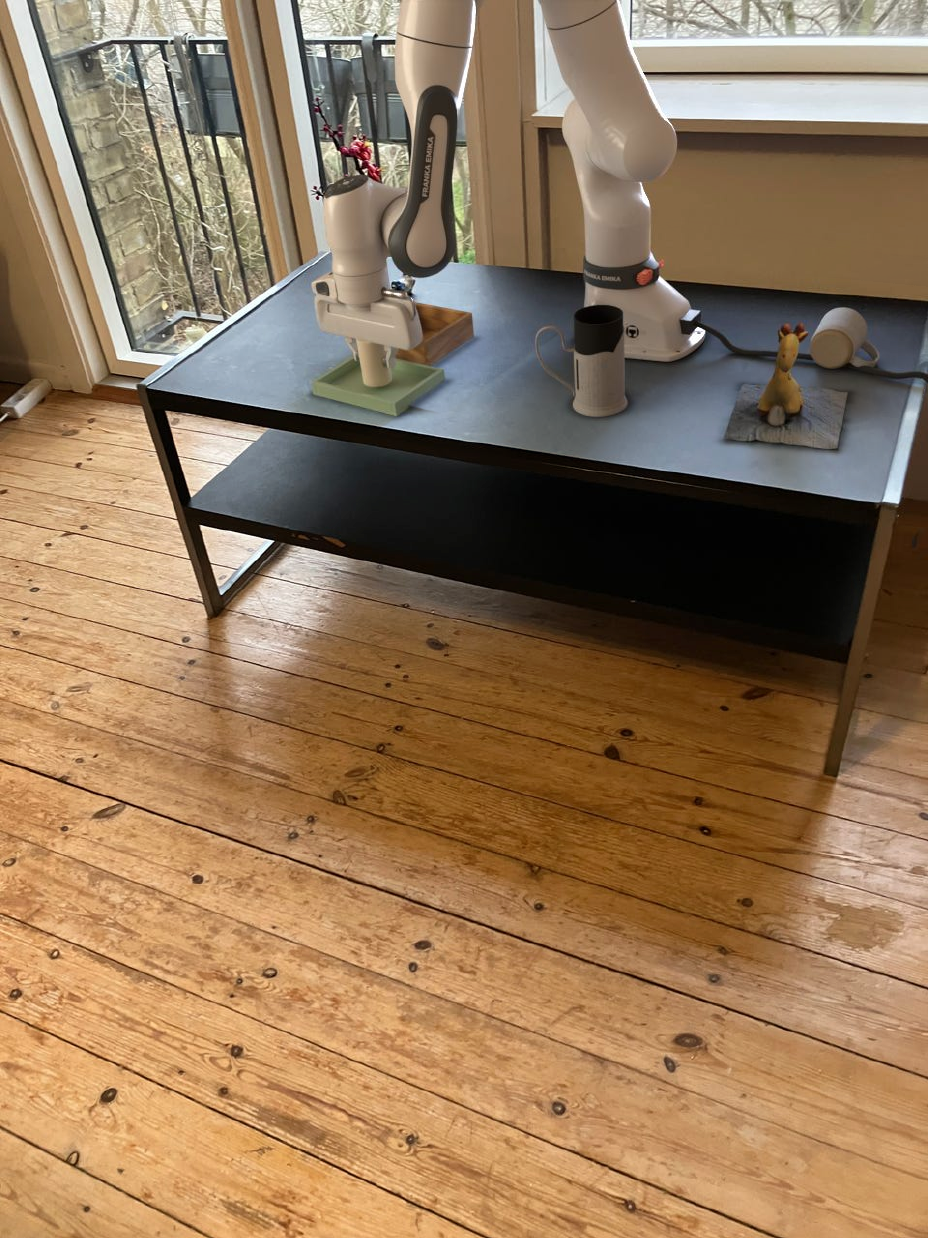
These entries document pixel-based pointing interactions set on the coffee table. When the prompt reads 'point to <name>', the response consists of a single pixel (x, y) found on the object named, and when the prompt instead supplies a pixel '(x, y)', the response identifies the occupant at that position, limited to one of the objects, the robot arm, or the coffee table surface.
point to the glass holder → (596, 360)
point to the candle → (373, 364)
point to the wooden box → (438, 334)
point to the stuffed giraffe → (787, 405)
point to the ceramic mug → (841, 340)
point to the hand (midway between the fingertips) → (375, 363)
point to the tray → (387, 399)
